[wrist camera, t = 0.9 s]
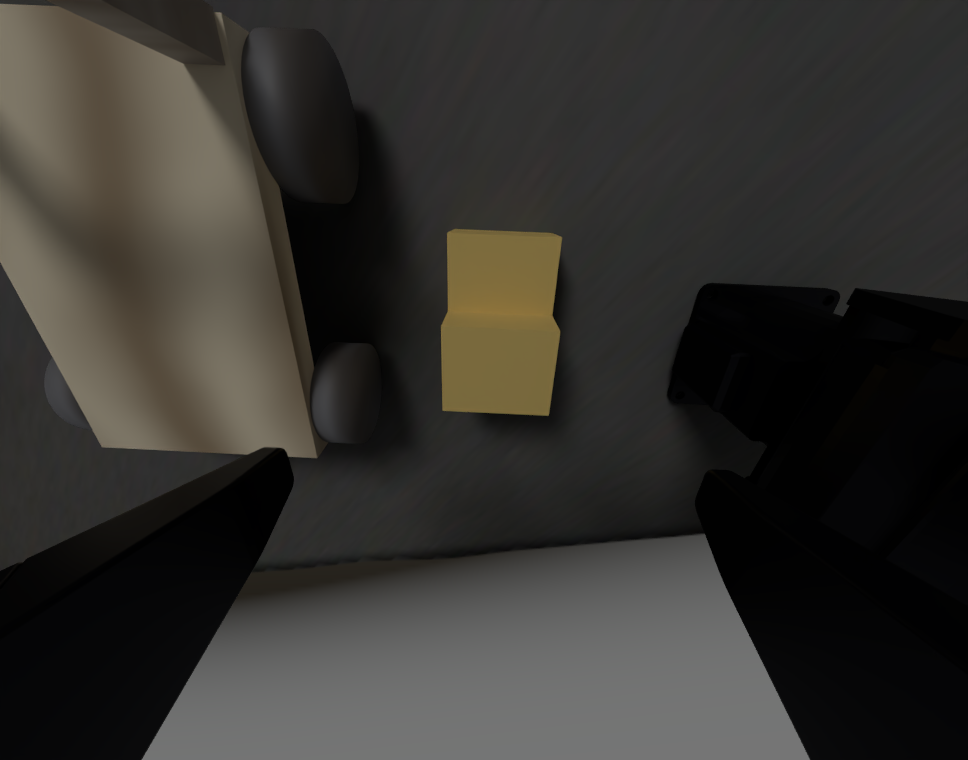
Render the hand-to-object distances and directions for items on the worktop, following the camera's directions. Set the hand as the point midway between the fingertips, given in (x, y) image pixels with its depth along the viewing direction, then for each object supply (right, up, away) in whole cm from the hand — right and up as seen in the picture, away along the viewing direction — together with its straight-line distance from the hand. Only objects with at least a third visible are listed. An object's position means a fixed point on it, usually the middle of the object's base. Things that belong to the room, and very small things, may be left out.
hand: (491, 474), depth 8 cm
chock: (+1, +6, +11) cm, 12 cm away
